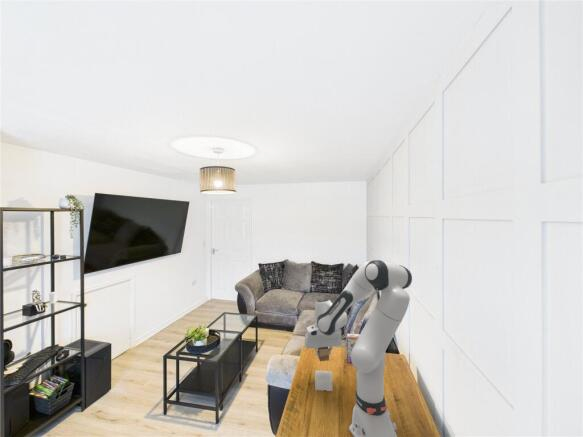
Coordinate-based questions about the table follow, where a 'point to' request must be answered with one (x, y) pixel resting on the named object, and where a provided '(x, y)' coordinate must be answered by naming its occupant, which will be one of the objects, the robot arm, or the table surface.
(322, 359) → the oak block
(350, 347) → the candy bar box
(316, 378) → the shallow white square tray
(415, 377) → the table surface
